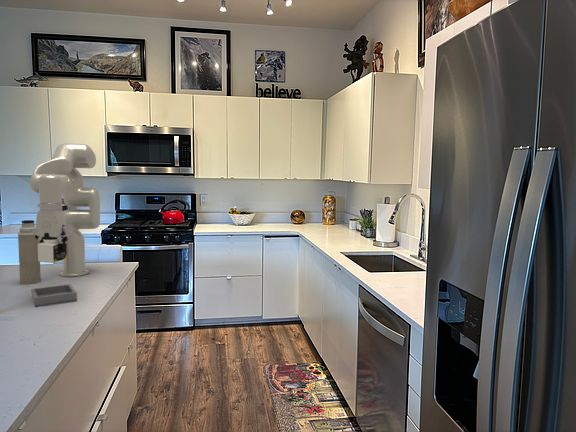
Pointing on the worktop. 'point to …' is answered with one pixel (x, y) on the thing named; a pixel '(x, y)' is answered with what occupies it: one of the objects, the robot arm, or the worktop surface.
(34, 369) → the worktop surface
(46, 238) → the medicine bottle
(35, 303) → the tray
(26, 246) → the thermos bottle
